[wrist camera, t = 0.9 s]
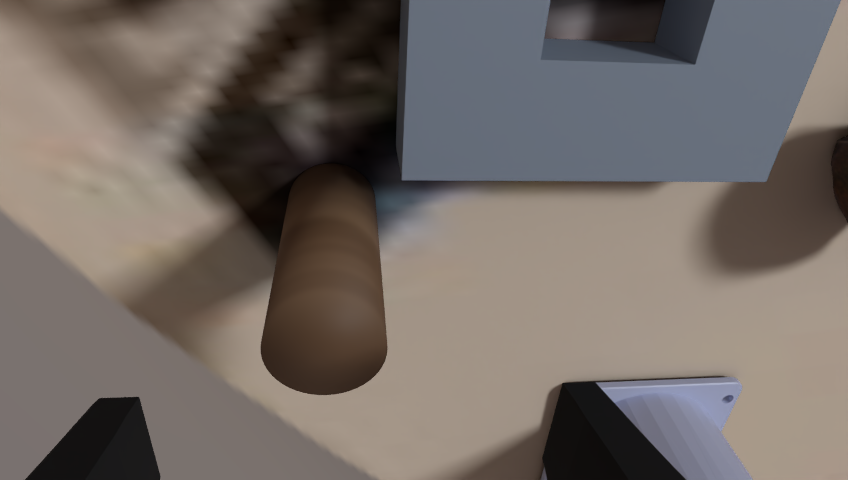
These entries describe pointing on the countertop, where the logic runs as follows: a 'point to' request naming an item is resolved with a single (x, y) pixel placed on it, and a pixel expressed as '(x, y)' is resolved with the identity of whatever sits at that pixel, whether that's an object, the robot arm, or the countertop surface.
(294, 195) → the long walnut pin
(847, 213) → the bolt
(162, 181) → the countertop surface
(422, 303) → the countertop surface
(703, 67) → the hole block
